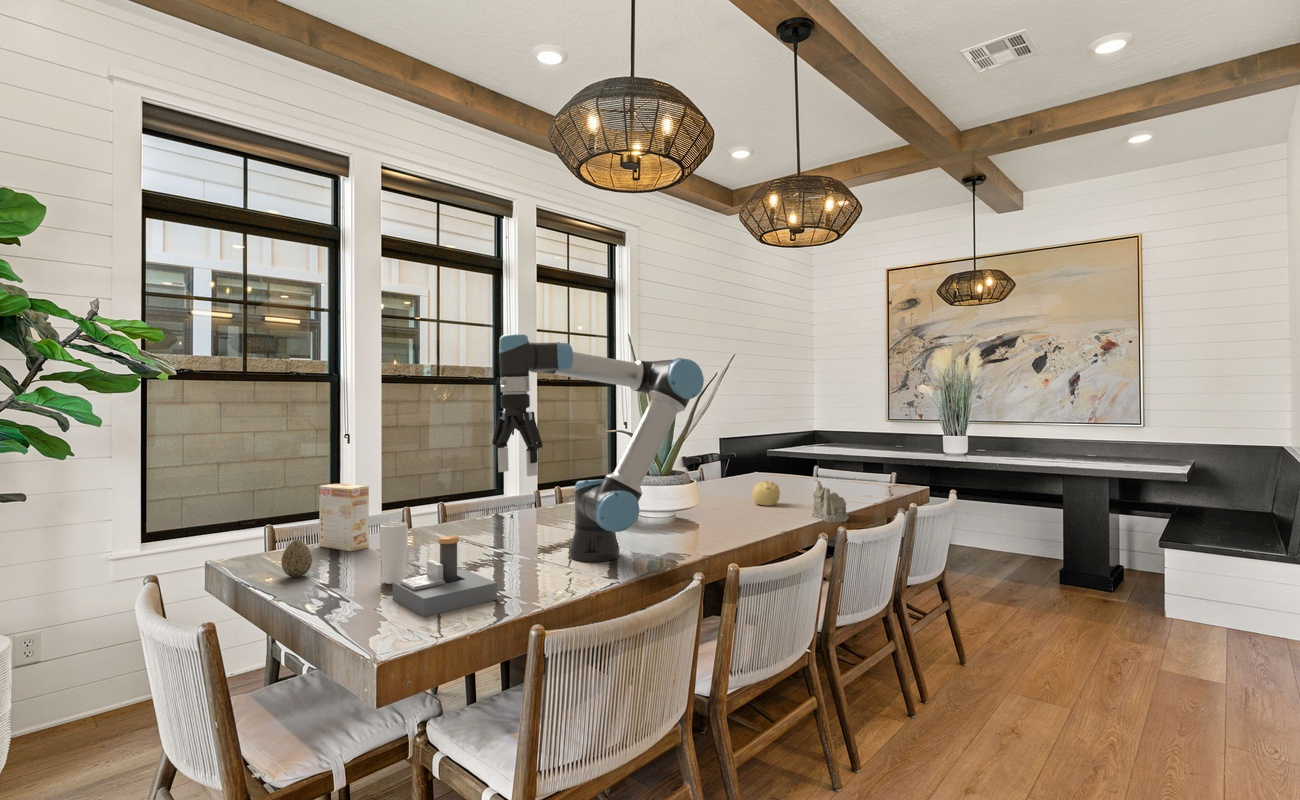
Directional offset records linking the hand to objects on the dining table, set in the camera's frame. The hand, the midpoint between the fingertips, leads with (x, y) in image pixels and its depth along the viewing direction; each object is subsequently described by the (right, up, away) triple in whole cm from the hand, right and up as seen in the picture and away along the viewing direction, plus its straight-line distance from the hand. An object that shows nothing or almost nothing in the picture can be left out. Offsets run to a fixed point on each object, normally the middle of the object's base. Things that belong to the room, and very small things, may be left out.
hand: (517, 473), depth 175 cm
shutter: (-18, -24, -20) cm, 36 cm away
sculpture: (+86, -27, +115) cm, 146 cm away
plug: (-14, -28, -15) cm, 34 cm away
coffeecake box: (-62, -27, +35) cm, 76 cm away
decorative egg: (-59, -28, +1) cm, 65 cm away
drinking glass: (-31, -28, -4) cm, 42 cm away
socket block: (-14, -28, -18) cm, 36 cm away
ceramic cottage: (+107, -27, +85) cm, 139 cm away
